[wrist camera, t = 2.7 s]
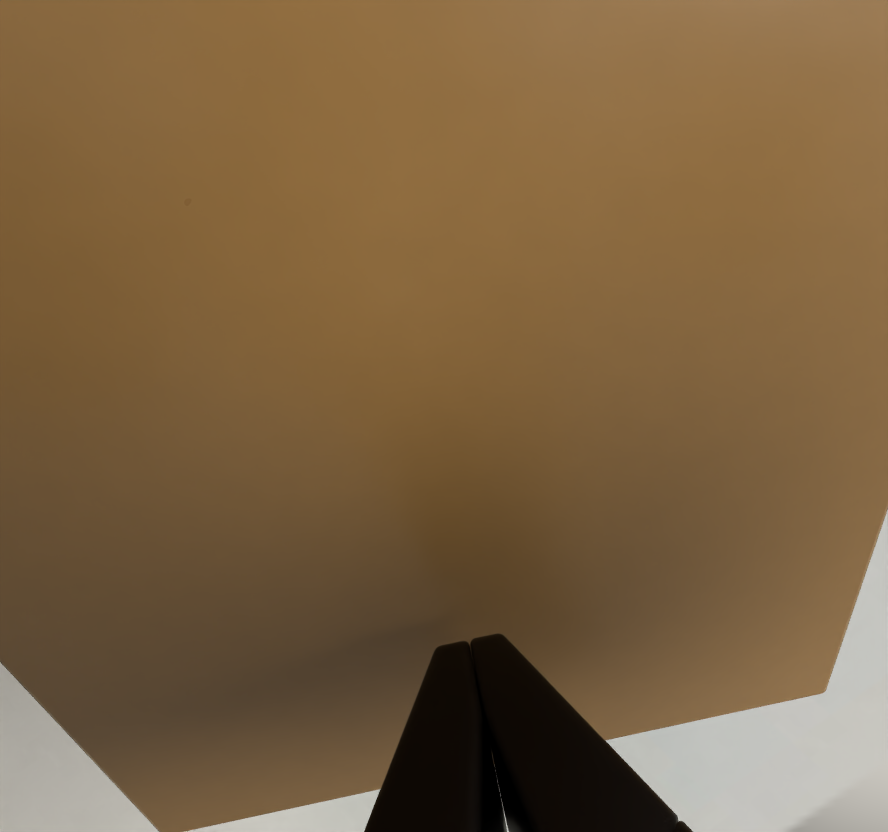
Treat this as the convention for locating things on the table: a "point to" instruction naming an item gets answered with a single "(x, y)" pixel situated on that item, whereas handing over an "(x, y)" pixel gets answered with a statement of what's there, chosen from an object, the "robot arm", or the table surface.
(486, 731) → the robot arm
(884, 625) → the table surface
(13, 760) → the table surface
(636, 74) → the lid
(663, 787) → the table surface
